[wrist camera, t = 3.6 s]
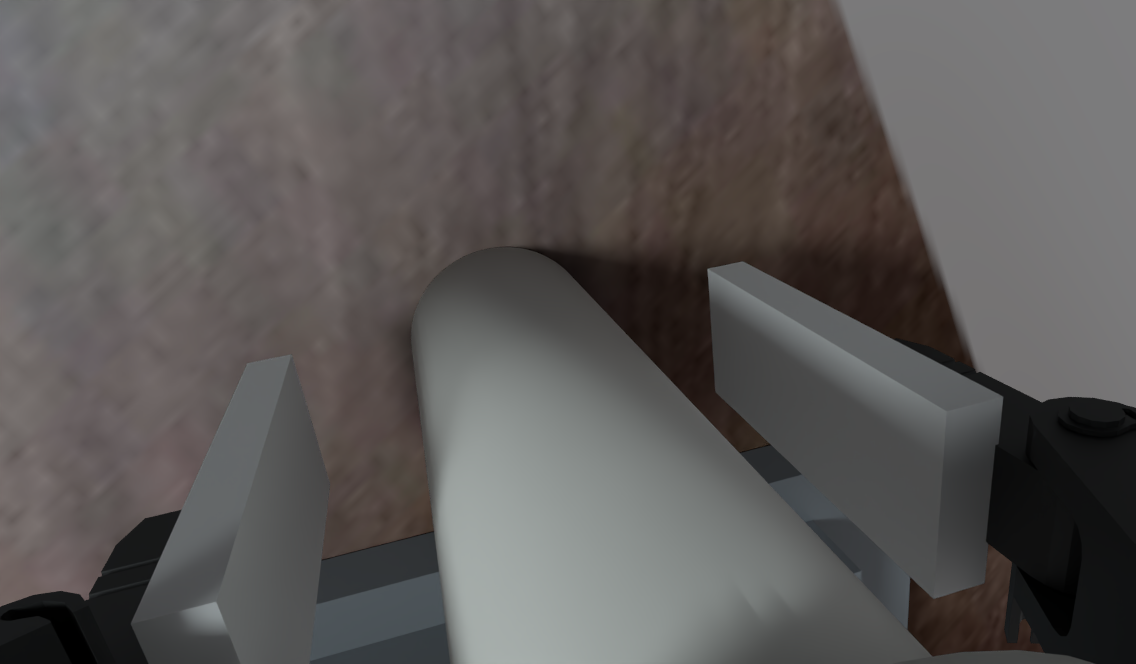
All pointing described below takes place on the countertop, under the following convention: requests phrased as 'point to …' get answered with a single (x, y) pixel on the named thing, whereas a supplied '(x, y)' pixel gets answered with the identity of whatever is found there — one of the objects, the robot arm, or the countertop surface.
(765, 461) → the housing
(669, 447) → the round-headed peg
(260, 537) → the robot arm
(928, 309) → the countertop surface
